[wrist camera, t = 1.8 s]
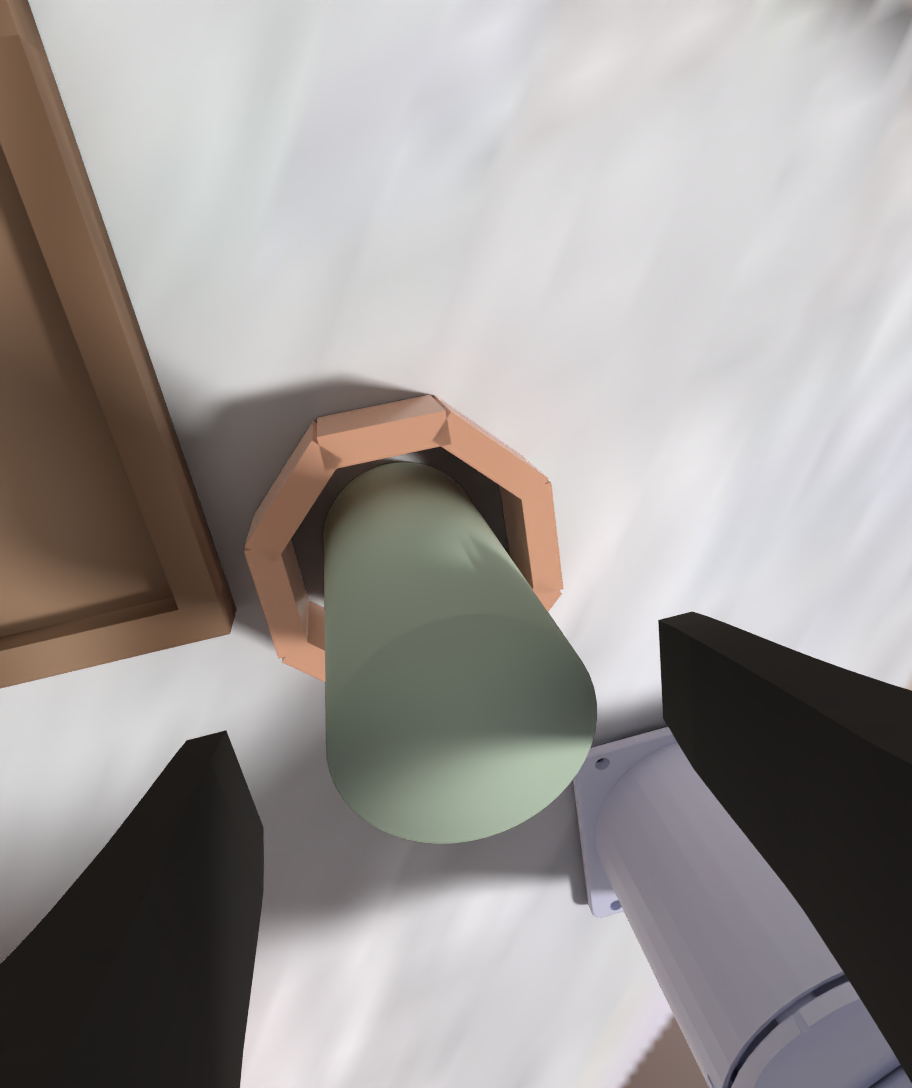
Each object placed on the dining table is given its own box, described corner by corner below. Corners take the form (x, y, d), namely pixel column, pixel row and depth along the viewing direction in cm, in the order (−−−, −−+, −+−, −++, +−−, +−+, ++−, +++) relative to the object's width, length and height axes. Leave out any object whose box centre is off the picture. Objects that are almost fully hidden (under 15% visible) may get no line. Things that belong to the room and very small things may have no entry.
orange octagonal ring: (513, 377, 18) (540, 391, 15) (544, 620, 21) (571, 661, 18) (227, 435, 17) (213, 458, 15) (304, 680, 20) (301, 730, 18)
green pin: (465, 446, 18) (584, 583, 10) (488, 587, 20) (606, 803, 12) (305, 481, 18) (292, 654, 9) (344, 621, 19) (360, 872, 11)
